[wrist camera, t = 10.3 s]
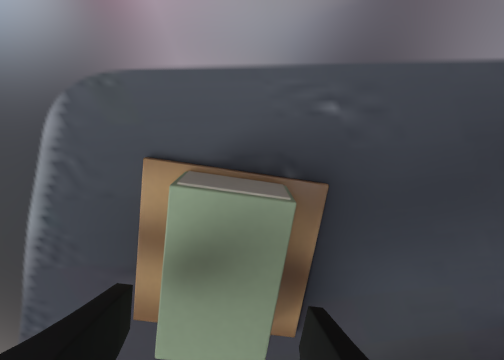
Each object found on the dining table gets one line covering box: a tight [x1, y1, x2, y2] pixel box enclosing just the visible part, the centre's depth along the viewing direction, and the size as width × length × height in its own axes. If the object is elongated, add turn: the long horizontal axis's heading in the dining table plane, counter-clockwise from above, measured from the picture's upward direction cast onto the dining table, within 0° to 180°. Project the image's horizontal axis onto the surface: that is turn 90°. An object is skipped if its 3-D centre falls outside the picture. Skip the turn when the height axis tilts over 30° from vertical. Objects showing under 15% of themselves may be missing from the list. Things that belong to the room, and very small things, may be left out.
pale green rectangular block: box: [155, 171, 296, 360], centre depth 14 cm, size 9×6×3 cm, turn 171°
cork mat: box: [134, 157, 329, 337], centre depth 15 cm, size 10×10×1 cm
